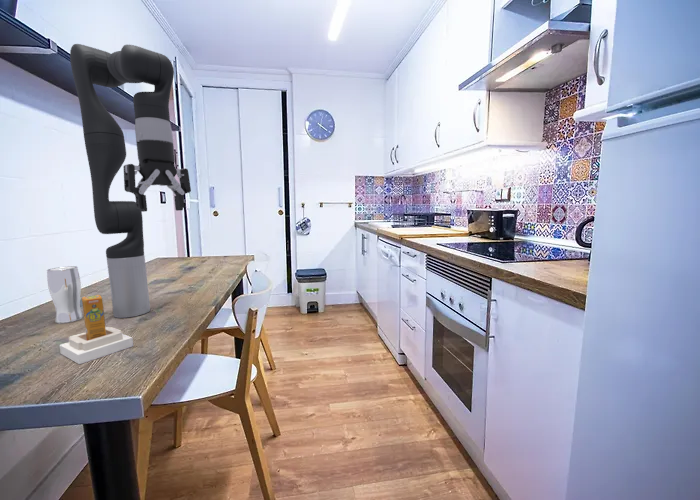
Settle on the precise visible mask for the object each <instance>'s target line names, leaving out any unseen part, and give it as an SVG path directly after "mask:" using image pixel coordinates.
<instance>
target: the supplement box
mask: <svg viewBox="0 0 700 500" xmlns="http://www.w3.org/2000/svg"><path fill="white" fill-rule="evenodd" d="M81 301H82V302H81V303H82V309H83V318H84V327H85V332H86V336H87V341H88V340H92V339H95V338H98V337H102V336H105V335H106V329H105V327H106V322H105V321H106V320H105V312H104V302H103V298H102V296H101V295H100V294H96V295H89V296H82V297H81Z"/></svg>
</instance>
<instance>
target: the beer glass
mask: <svg viewBox="0 0 700 500" xmlns="http://www.w3.org/2000/svg"><path fill="white" fill-rule="evenodd" d="M78 268H79V267H78V266H77V265H76V266H74V265H73V266H69V265H68V266H59V267H54V268H48V269H47V270H46V277H47V278H46V279H47V287H48V292H49V294H50V298H51V300H52V302H53V305H54V307H55V308H54V309H55V320H54V321H55V324H60V325H61V324H67V323H69V324H70V323H73V322H77V321H81V320H83V318H84V313H83V312H82V308H81V292H82V291H81V290H82V285H81V284H82V282H81V277H80V271H79V269H78Z"/></svg>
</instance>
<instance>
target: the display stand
mask: <svg viewBox="0 0 700 500" xmlns="http://www.w3.org/2000/svg"><path fill="white" fill-rule="evenodd" d="M105 329H106V335H105V336H102V337H98V338H95V339H92V340H88V341H87V336H86V331H85V332H82V333H78V334H74V335H70V336H69V337H68V342H65V343H60V344H59V351H60V352H59V353H60V355H62V356H64V357H66V358H67V359H69V360H71V361H73V362H75V363H76V364H78V365H82V364H85V363H88V362H91V361H95V360H96V359H100V358H103V357H106V356H109V355H112V354H114V353H117V352H121V351H124V350H127V349H129V348H131V347H134V341H133V340H134V339H133V337H132V336H129V335H126V334H124V333H123V331H122V330H120V329H118V328H115V327H112V326H110V327H108V326H105Z"/></svg>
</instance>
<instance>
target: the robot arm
mask: <svg viewBox="0 0 700 500" xmlns="http://www.w3.org/2000/svg"><path fill="white" fill-rule="evenodd" d="M69 57H70V58H69V59H70V60H69V61H70V66H71V72H72V77H73V81H74V85H75V89H76V93H77V98H78V103H79V107H80V116H81V122H82V132H83V141H84V145H85V150H86V156H87V161H88V166H89V172H90V180H91V188H92V201H93V202H92V203H93V213H94V214H93V216H94V221H95V226H96V228H97V230H98V232H99V233H100V234H102V235H113V234H126V237H125V238H124V239H123V240H121V241H120V242H118V243H116V244H113V245H111V246H108V247H107V248H106V250H105V256H106V263H107V271H108V273H107V274H108V279H109V280H108V281H109V288H110V296H111V302H112V303H111V304H112V305H111V306H112V312H113V313H112V314H113V317H114V318H118V319H119V318H120V319H122V318H132V317H137V316H141V315H144V314H147V313H149V312H150V311H151V304H150V294H149V286H148V285H149V284H148V276H147V266H146V258H145V257H146V256H145V241H144V227H143V222H144V220H143V213H142V212H147V211H148V204H147V196H146V194H145V193H146V191H147V190H148V189H149V188H150V187H151V186H161V187H162V186H166V187H167V188H168V189H170V190H171V191H172V193H173V194H174V195H173V196H174V197H173V199H174V206H175V207H174V209H175V211H183V210H184V209H185V197H184V196H185V195H186V194H188V193H192V192H191V191H192V188H191V183H190V182H191V181H190V175H189V169H188V168H185V167H184V168H181V169H180V168H176V166H175V162H176V158H175V147H174V136H173V130H172V126H171V125H172V124H171V118H170V108H169V106H170V96H171V91H172V90H171V89H172V85H173V81H174V76H175V69H174V66H173V63H172V61H171V60H170V59H169V57H167V56H166V55H165V54H163V53H159V52H156V51H153V50H150V49H146V48H144V47H141V46H137V45H134V44H124V45H123V46H122V47H121V50H118V51H114V52H112V53H110V52H108V51H106V50H102V49H99V48H95V47H91V46H89V45H85V44H81V43H74V44H72V46H71V47H70V53H69ZM141 83H143V84H147V85H153V87H154V90H153V91H138V92H136V93H135V94H134V95H133V103H132V104H133V110H134V121H135V124H134V133H135V143H136V151H137V160H138V165H135V164H133V163H130V164H129V163H127V164H124V163H125V161H126V157H127V148H126V142H125V136H124V132H123V130H122V128H121V126H120V124H119V123H118V122H117V121H116V120H115V118H114V117H113V115H112V114H111V113H110V112H109V111H108V110H107V108H106V107H105V105H104V104H103V103H102V101H101V99H99V96H98V95H97V92H96V90H95V87H94V85H96V86H100V87H104V88H118V87H120V86H122V85H124V84H141ZM123 164H124V165H123ZM122 166H123V184H124V185H123V187H124V189H123V190H124V191H125V192H126V193H131V194H133V195H134V196H135V197H134V198H135V201H133V200H130V201H129V200H127V201H126V200H110V196H109V194H110V188H111V185H112V183H113V181H114V180H115V177H116V175H117V174H118V173H119V171H120V169H121V167H122ZM138 173H139V174H140V176H141V178H140V180H139V181H138V183H137V185H136V175H137V174H138ZM176 176H177V177H178V179H179V182H178V180H177V179H176V178H175V177H176Z"/></svg>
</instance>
